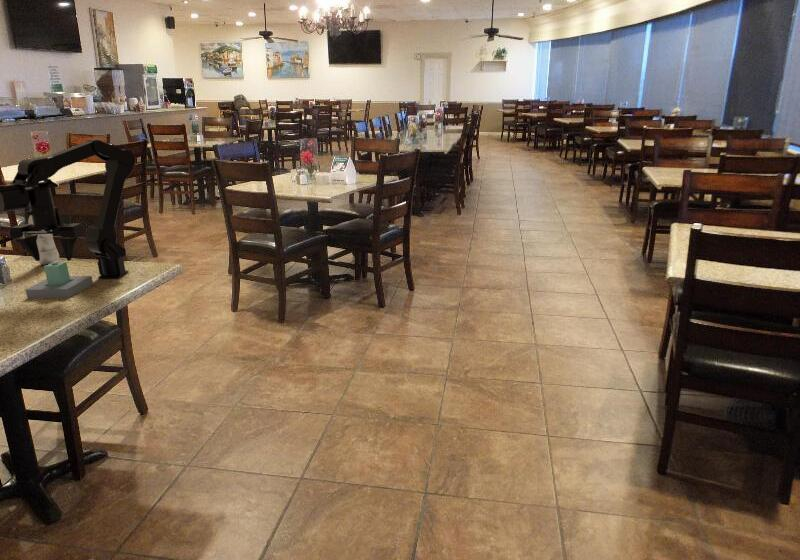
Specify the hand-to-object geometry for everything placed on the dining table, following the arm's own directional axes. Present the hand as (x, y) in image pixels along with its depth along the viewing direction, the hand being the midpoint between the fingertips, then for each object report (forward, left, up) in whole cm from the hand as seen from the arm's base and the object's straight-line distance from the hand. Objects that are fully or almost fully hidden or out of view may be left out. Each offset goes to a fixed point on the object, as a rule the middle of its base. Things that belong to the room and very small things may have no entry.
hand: (53, 260), depth 163 cm
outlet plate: (0, 0, -9) cm, 9 cm away
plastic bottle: (+22, -28, -9) cm, 37 cm away
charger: (0, 0, -9) cm, 9 cm away
